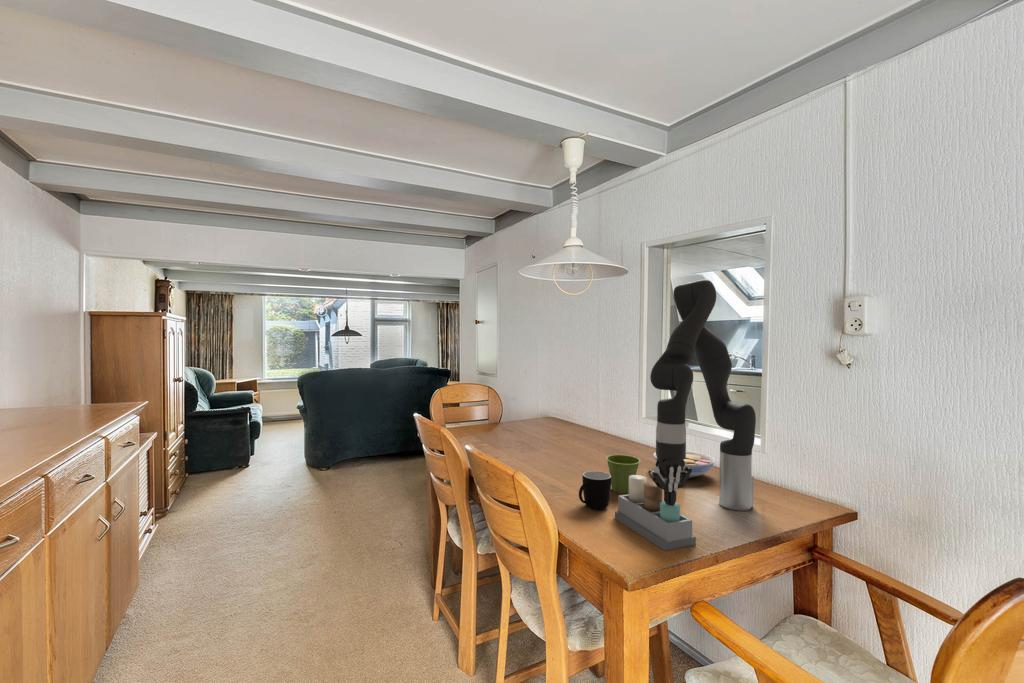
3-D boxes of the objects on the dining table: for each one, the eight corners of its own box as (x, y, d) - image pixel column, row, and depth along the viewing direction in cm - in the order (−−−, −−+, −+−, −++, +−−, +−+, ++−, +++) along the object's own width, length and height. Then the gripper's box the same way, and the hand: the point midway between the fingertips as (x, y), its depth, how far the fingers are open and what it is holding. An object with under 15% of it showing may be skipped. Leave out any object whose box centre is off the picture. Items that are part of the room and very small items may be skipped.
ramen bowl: (720, 488, 161) (720, 466, 161) (653, 482, 168) (653, 460, 168) (710, 469, 185) (710, 449, 185) (652, 464, 192) (652, 445, 192)
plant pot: (603, 494, 154) (603, 461, 154) (607, 483, 166) (607, 453, 165) (639, 498, 151) (639, 465, 150) (641, 487, 162) (641, 456, 162)
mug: (596, 499, 149) (596, 469, 149) (616, 508, 142) (617, 476, 142) (569, 507, 142) (569, 475, 142) (589, 516, 135) (590, 483, 135)
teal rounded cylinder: (670, 523, 123) (671, 499, 123) (684, 531, 118) (684, 506, 118) (655, 526, 121) (656, 502, 121) (668, 534, 116) (668, 508, 116)
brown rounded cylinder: (654, 503, 129) (654, 481, 129) (666, 510, 125) (666, 486, 125) (639, 506, 127) (640, 483, 127) (651, 512, 123) (651, 488, 123)
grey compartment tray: (642, 513, 138) (642, 492, 138) (695, 544, 118) (696, 519, 118) (614, 517, 135) (615, 496, 134) (664, 550, 114) (664, 525, 114)
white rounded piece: (639, 495, 136) (639, 474, 136) (649, 501, 131) (650, 479, 131) (625, 497, 134) (625, 475, 134) (635, 503, 129) (635, 481, 129)
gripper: (680, 434, 125) (679, 496, 125) (641, 437, 120) (640, 502, 121) (701, 440, 118) (700, 506, 118) (659, 444, 113) (658, 512, 114)
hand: (669, 504), depth 119 cm, fingers closed
